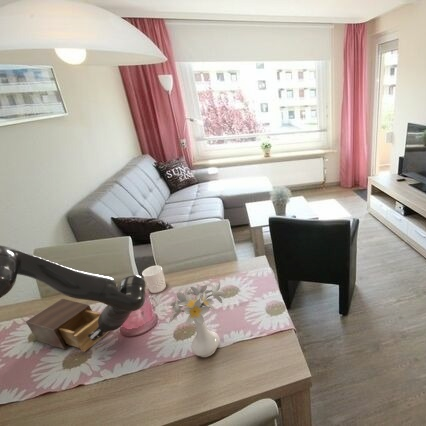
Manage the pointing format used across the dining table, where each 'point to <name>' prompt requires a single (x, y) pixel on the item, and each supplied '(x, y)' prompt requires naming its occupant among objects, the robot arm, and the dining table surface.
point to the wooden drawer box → (55, 321)
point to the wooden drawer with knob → (80, 330)
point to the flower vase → (199, 317)
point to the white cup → (154, 278)
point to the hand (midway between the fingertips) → (100, 333)
